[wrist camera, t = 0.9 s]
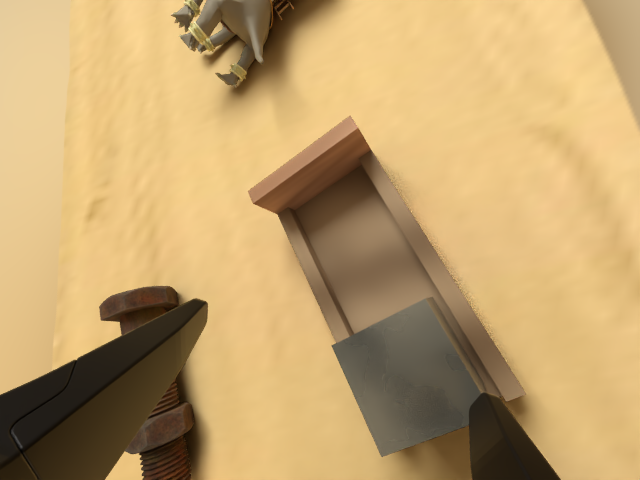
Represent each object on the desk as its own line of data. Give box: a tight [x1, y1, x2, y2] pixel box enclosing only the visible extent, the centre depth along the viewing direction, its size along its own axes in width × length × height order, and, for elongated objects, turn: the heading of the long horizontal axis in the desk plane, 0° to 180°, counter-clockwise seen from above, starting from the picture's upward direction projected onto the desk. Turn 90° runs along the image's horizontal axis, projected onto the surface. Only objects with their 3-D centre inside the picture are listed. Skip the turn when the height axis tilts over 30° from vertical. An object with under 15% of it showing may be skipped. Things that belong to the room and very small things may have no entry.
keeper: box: [332, 297, 487, 457], centre depth 16 cm, size 5×5×5 cm
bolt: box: [99, 286, 194, 480], centre depth 25 cm, size 6×5×15 cm
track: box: [248, 116, 526, 402], centre depth 18 cm, size 17×8×5 cm, turn 27°
